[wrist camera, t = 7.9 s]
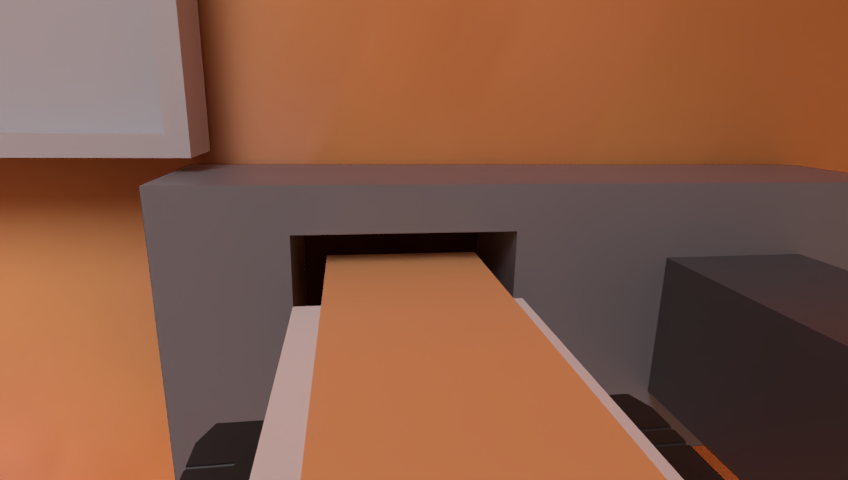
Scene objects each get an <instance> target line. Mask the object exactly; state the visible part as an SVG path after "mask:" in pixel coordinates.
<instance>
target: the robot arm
mask: <svg viewBox="0 0 848 480" xmlns="http://www.w3.org/2000/svg"><path fill="white" fill-rule="evenodd" d="M514 299H515V301H516V302H517V303H518V304H519V305H520V306H521V308H522V309H523V310H524V311H525V312H526V314H527V315H528V316H529V317H530V318H531V319H532V321H533V322H534V323H535V324H536V325H537V327H538V328H539V329H540V330H541V331H542V332H543V334H544V335H545V336H546V337H547V338H548V340H549V341H550V342H551V343H552V344H553V345H554V347H555V348H556V349H557V350H558V351H559V353H560V354H561V355H562V356H563V357H564V358H565V360H566V361H567V362H568V363H569V364H570V366H571V367H572V368H573V369H574V370H575V371H576V373H577V374H578V375H579V376H580V377H581V379H582V380H583V381H584V382H585V383H586V384H587V386H588V387H589V388H590V389H591V390H592V392H593V393H594V394H595V395H596V396H597V397H598V399H599V400H600V401H601V402H602V403H603V405H604V406H605V407H606V408H607V409H608V410H609V412H610V413H611V414H612V415H613V416H614V418H615V419H616V420H617V421H618V422H619V423H620V425H621V426H622V427H623V428H624V429H625V431H626V432H627V433H628V434H629V435H630V436H631V438H632V439H633V440H634V441H635V442H636V444H637V445H638V446H639V447H640V448H641V449H642V451H643V452H644V453H645V454H646V455H647V457H648V458H649V459H650V460H651V461H652V462H653V464H654V465H655V466H656V467H657V468H658V470H659V471H660V472H661V473H662V474H663V475H664V477H665V478H666V479H667V480H724V479H723V478H722V477H721V476H720V475H719V474H718V473H717V472H716V471H715V470H714V469H713V468H712V467H711V466H710V465H709V464H708V463H707V462H706V461H705V460H704V459H703V458H702V457H701V456H700V455H699V454H698V453H697V452H696V451H695V450H694V449H693V448H692V447H691V446H690V445H687V444H686V441H685V440H684V439H683V438H682V437H681V436H680V435H679V434H678V433H677V432H676V431H675V430H672V429H671V426H670V425H669V424H668V423H667V422H666V421H665V420H664V419H663V418H662V417H661V416H660V415H659V414H658V413H657V412H656V411H655V410H654V409H653V408H652V407H650V406H649V405H647V404H645V403H643V402H642V401H640V400H638V399H636V398H635V397H633V396H631V395H630V394H615V395H608V394H607V393H606V392H605V390H604V389H603V388H602V387H601V386H600V385H599V384H598V383H597V381H596V380H595V379H594V378H593V377H592V376H591V375H590V374H589V372H588V371H587V370H586V369H585V368H584V367H583V366H582V365H581V363H580V362H579V361H578V360H577V359H576V358H575V357H574V356H573V354H572V353H571V352H570V351H569V350H568V349H567V348H566V347H565V345H564V344H563V343H562V342H561V341H560V340H559V339H558V338H557V336H556V335H555V334H554V333H553V332H552V331H551V330H550V329H549V327H548V326H547V325H546V324H545V323H544V322H543V321H542V320H541V318H540V317H539V316H538V315H537V314H536V313H535V312H534V311H533V309H532V308H531V307H530V306H529V305H528V304H527V303H526V302H525V300H524V299H523V298H514ZM320 310H321V306H296V307H293V308H292V312H291V316H290V320H289V324H288V328H287V332H286V336H285V340H284V344H283V348H282V352H281V356H280V360H279V364H278V367H277V371H276V375H275V379H274V383H273V387H272V391H271V395H270V399H269V403H268V407H267V411H266V415H265V419H264V420H258V421H243V422H228V423H216V424H215V425H214V426H213V427H212V428H211V429H210V430H209V431H208V432H207V433H206V434H205V435H203V436H202V437H201V438H200V439H199V440H198V441H197V442H196V443H195V445H194V448H193V450H192V452H191V455H190V457H189V459H188V461H187V464H186V468H185V470H184V471H183V473H182V475H181V478H180V480H301V471H302V463H303V454H304V446H305V437H306V429H307V420H308V412H309V403H310V395H311V386H312V378H313V369H314V361H315V352H316V344H317V335H318V327H319V318H320Z"/></svg>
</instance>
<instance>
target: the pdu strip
mask: <svg viewBox="0 0 848 480" xmlns="http://www.w3.org/2000/svg"><path fill="white" fill-rule="evenodd" d="M139 190H140V198H141V206H142V214H143V222H144V231H145V239H146V247H147V255H148V263H149V271H150V279H151V287H152V295H153V303H154V311H155V319H156V328H157V336H158V344H159V352H160V360H161V368H162V376H163V384H164V392H165V400H166V408H167V417H168V425H169V433H170V441H171V449H172V457H173V465H174V473H175V480H180V478H181V475H182V473H183V471H184V470H185V468H186V464H187V461H188V459H189V457H190V455H191V452H192V450H193V448H194V445H195V443H196V442H197V441H198V440H199V439H200V438H201V437H202V436H203V435H205V434H206V433H207V432H208V431H209V430H210V429H211V428H212V427H213V426H214V425H215V424H216V423H228V422H243V421H258V420H264V419H265V415H266V411H267V407H268V403H269V399H270V395H271V391H272V387H273V383H274V379H275V375H276V371H277V367H278V364H279V360H280V356H281V352H282V348H283V344H284V340H285V336H286V332H287V328H288V324H289V320H290V316H291V312H292V308H293V307H296V306H307V292H306V269H305V246H304V235H344V234H398V233H452V232H477V251H476V254H477V256H478V257H479V258H480V259H481V260H482V262H483V263H484V264H485V265H486V266H487V267H488V269H489V270H490V271H491V272H492V273H493V275H494V276H495V277H496V278H497V279H498V280H499V282H500V283H501V284H502V285H503V286H504V288H505V289H506V290H507V291H508V292H509V293H510V295H511V296H512V297H513V298H523V299H524V300H525V302H526V303H527V304H528V305H529V306H530V307H531V308H532V309H533V311H534V312H535V313H536V314H537V315H538V316H539V317H540V318H541V320H542V321H543V322H544V323H545V324H546V325H547V326H548V327H549V329H550V330H551V331H552V332H553V333H554V334H555V335H556V336H557V338H558V339H559V340H560V341H561V342H562V343H563V344H564V345H565V347H566V348H567V349H568V350H569V351H570V352H571V353H572V354H573V356H574V357H575V358H576V359H577V360H578V361H579V362H580V363H581V365H582V366H583V367H584V368H585V369H586V370H587V371H588V372H589V374H590V375H591V376H592V377H593V378H594V379H595V380H596V381H597V383H598V384H599V385H600V386H601V387H602V388H603V389H604V390H605V392H606V393H607V394H608V395H615V394H630V395H631V396H633V397H635V398H636V399H638V400H640V401H642V402H643V403H645V404H647V405H649V406H650V407H652V408H653V409H654V410H655V411H656V412H657V413H658V414H659V415H660V416H661V417H662V418H663V419H664V420H665V421H666V422H667V423H668V424H669V425H670V426H671V429H672V430H675V431H676V432H677V433H678V434H679V435H680V436H681V437H682V438H683V439H684V440H685V441H686V444H687V445H690V446H702V445H704V446H705V447H707V448H708V449H709V450H710V451H711V452H712V453H713V454H714V455H715V456H716V457H717V458H718V459H719V460H720V461H721V462H722V463H723V464H724V465H725V466H726V467H727V468H728V469H729V470H730V471H731V472H732V473H733V474H735V475H736V476H737V477H738V478H739V479H740V480H848V173H844V172H837V171H830V170H824V169H817V168H810V167H803V166H796V165H227V164H190V165H188V166H185V167H183V168H181V169H178V170H176V171H173V172H171V173H169V174H166V175H164V176H161V177H159V178H157V179H154V180H152V181H149V182H147V183H145V184H142V185H140V186H139Z"/></svg>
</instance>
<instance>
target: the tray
mask: <svg viewBox="0 0 848 480" xmlns="http://www.w3.org/2000/svg"><path fill="white" fill-rule="evenodd" d="M209 151H210V142H209V131H208V119H207V108H206V96H205V85H204V73H203V62H202V50H201V38H200V27H199V15H198V4H197V0H0V158H193V157H195V156H198V155H201V154H203V153H206V152H209Z"/></svg>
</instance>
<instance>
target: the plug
mask: <svg viewBox="0 0 848 480" xmlns="http://www.w3.org/2000/svg"><path fill="white" fill-rule="evenodd" d="M301 480H667V479H666V478H665V477H664V475H663V474H662V473H661V472H660V471H659V470H658V468H657V467H656V466H655V465H654V464H653V462H652V461H651V460H650V459H649V458H648V457H647V455H646V454H645V453H644V452H643V451H642V449H641V448H640V447H639V446H638V445H637V444H636V442H635V441H634V440H633V439H632V438H631V436H630V435H629V434H628V433H627V432H626V431H625V429H624V428H623V427H622V426H621V425H620V423H619V422H618V421H617V420H616V419H615V418H614V416H613V415H612V414H611V413H610V412H609V410H608V409H607V408H606V407H605V406H604V405H603V403H602V402H601V401H600V400H599V399H598V397H597V396H596V395H595V394H594V393H593V392H592V390H591V389H590V388H589V387H588V386H587V384H586V383H585V382H584V381H583V380H582V379H581V377H580V376H579V375H578V374H577V373H576V371H575V370H574V369H573V368H572V367H571V366H570V364H569V363H568V362H567V361H566V360H565V358H564V357H563V356H562V355H561V354H560V353H559V351H558V350H557V349H556V348H555V347H554V345H553V344H552V343H551V342H550V341H549V340H548V338H547V337H546V336H545V335H544V334H543V332H542V331H541V330H540V329H539V328H538V327H537V325H536V324H535V323H534V322H533V321H532V319H531V318H530V317H529V316H528V315H527V314H526V312H525V311H524V310H523V309H522V308H521V306H520V305H519V304H518V303H517V302H516V301H515V299H514V298H513V297H512V296H511V295H510V293H509V292H508V291H507V290H506V289H505V288H504V286H503V285H502V284H501V283H500V282H499V280H498V279H497V278H496V277H495V276H494V275H493V273H492V272H491V271H490V270H489V269H488V267H487V266H486V265H485V264H484V263H483V262H482V260H481V259H480V258H479V257H478V256H477V254H476V253H475V252H449V253H407V254H366V255H327V259H326V268H325V276H324V285H323V293H322V301H321V310H320V318H319V327H318V335H317V344H316V352H315V361H314V369H313V378H312V386H311V395H310V403H309V412H308V420H307V429H306V437H305V446H304V454H303V463H302V471H301Z"/></svg>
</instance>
